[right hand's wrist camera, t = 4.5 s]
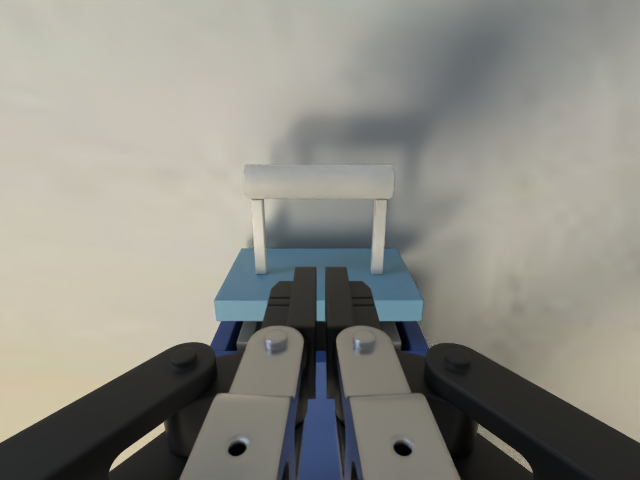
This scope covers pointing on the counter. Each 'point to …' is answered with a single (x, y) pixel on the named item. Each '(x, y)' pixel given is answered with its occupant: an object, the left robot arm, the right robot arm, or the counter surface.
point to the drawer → (279, 264)
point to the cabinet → (320, 400)
